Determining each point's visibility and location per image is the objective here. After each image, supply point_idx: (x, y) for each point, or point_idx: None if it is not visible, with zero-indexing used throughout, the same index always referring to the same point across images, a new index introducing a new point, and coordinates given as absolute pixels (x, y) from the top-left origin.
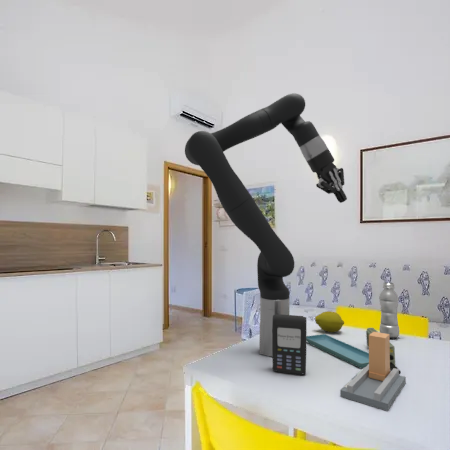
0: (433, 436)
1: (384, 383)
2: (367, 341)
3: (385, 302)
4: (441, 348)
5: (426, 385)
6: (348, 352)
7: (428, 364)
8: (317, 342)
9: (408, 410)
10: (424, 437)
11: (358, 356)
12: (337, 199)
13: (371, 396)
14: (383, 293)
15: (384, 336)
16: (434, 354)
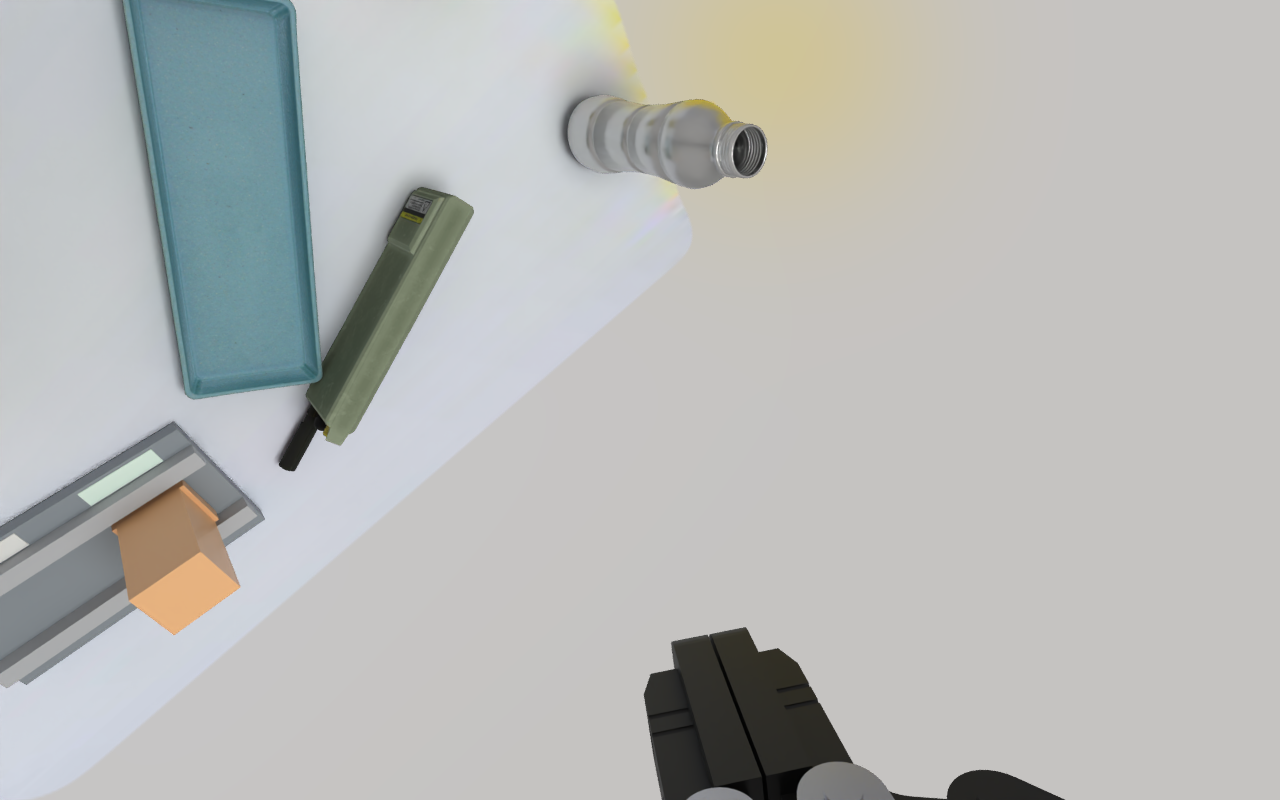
0: (61, 767)
1: (97, 615)
2: (413, 205)
3: (655, 155)
4: (625, 296)
5: (312, 527)
6: (269, 223)
7: (464, 398)
8: (194, 38)
9: (107, 661)
10: (29, 775)
11: (280, 276)
12: (647, 716)
13: (1, 645)
14: (686, 144)
15: (191, 614)
16: (558, 333)
